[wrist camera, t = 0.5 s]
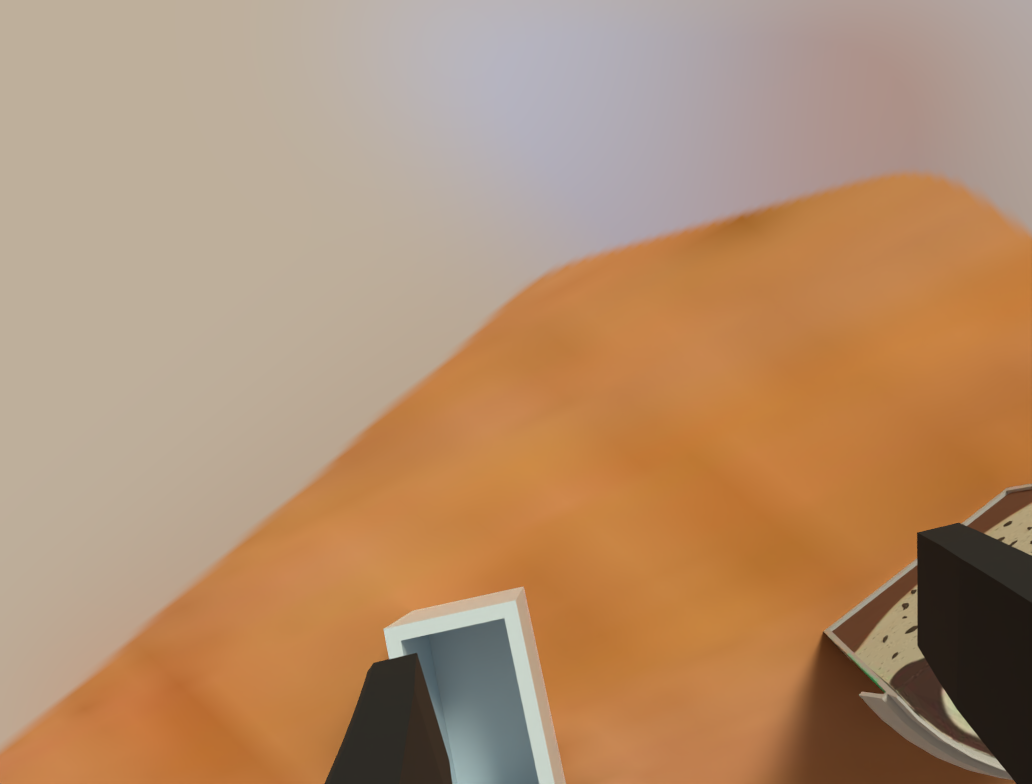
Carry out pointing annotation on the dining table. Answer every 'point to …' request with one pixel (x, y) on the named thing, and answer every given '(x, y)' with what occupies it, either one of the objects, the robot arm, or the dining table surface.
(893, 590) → the food container
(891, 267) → the dining table surface
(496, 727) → the small crate
